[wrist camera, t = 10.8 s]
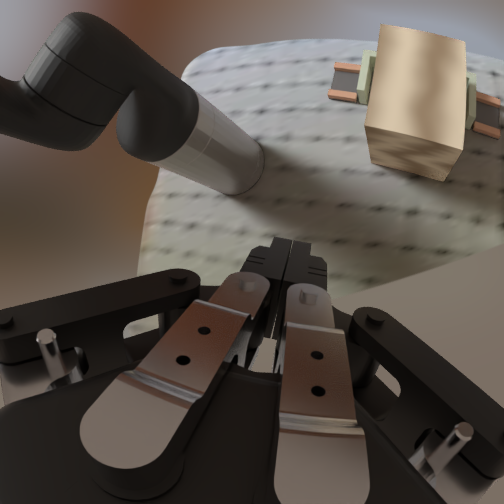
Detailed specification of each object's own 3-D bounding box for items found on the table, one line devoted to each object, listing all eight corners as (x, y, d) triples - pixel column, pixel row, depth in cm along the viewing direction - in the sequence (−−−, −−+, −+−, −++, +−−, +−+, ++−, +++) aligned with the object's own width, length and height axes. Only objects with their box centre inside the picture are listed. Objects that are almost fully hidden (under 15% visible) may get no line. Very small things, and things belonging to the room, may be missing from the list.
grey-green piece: (329, 98, 41) (323, 84, 37) (337, 61, 41) (332, 46, 37) (497, 139, 31) (506, 128, 28) (497, 97, 31) (504, 84, 27)
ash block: (371, 162, 39) (364, 125, 28) (386, 76, 38) (380, 23, 27) (443, 182, 35) (462, 150, 24) (452, 91, 34) (465, 41, 23)
